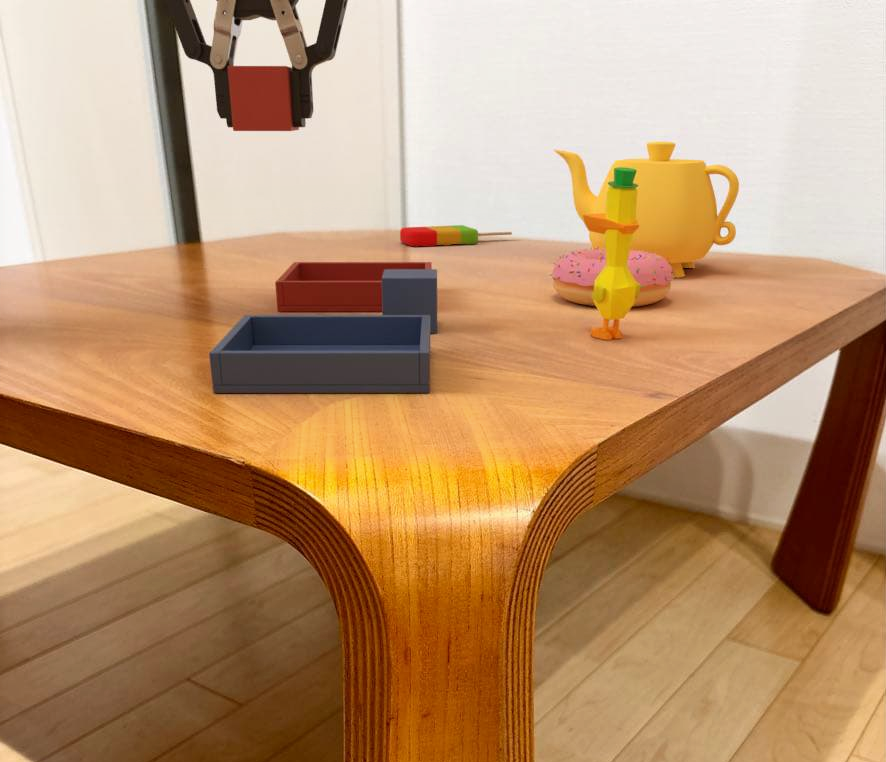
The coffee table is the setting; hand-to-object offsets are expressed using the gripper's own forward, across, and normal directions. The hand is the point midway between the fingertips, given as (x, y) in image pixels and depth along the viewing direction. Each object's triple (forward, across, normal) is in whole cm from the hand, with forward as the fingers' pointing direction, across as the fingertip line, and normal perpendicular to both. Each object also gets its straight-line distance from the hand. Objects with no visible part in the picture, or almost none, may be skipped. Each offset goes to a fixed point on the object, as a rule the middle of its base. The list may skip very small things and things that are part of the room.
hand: (266, 125), depth 68 cm
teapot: (+15, -34, -28) cm, 47 cm away
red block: (0, 0, 0) cm, 0 cm away
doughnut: (+15, -28, -10) cm, 34 cm away
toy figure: (+15, -26, +5) cm, 30 cm away
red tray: (+15, -6, -10) cm, 19 cm away
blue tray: (+15, -6, +15) cm, 22 cm away
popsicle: (+15, -15, -50) cm, 54 cm away
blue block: (+15, -11, +2) cm, 18 cm away
